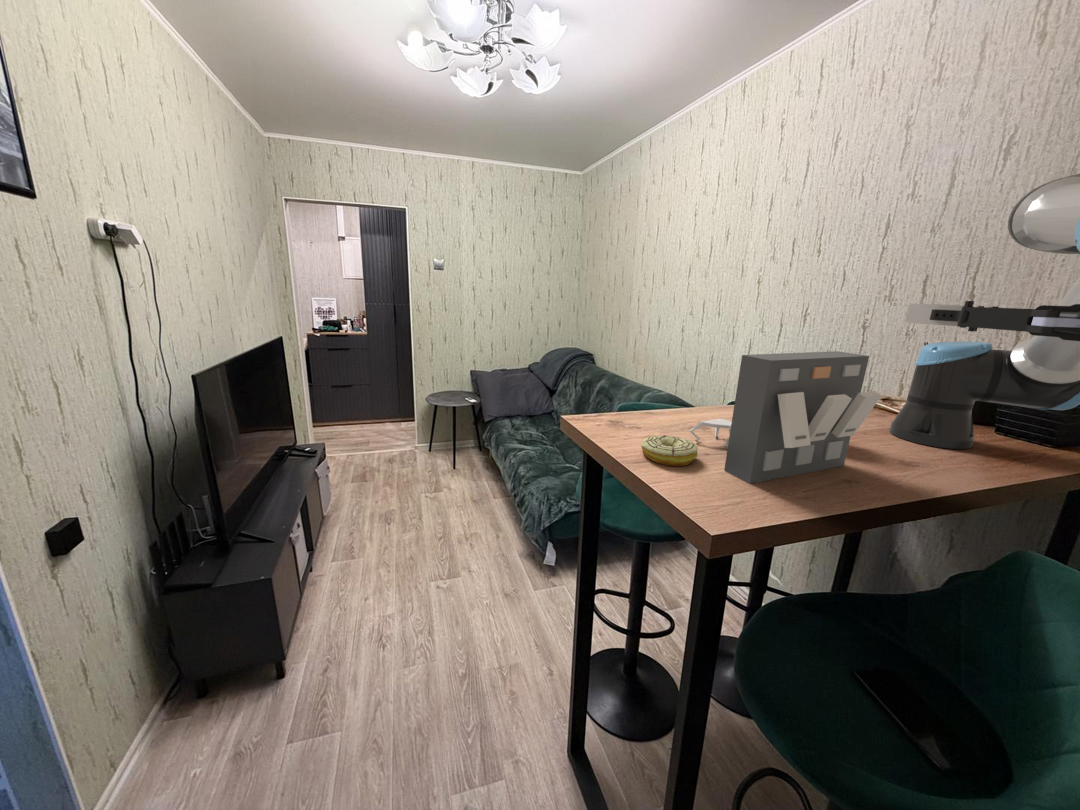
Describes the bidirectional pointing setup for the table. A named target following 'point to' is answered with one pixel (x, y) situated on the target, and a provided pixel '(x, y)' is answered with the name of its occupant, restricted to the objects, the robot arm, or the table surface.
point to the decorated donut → (669, 450)
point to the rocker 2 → (856, 414)
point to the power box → (758, 413)
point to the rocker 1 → (794, 420)
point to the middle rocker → (827, 416)
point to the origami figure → (714, 423)
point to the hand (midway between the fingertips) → (910, 313)
